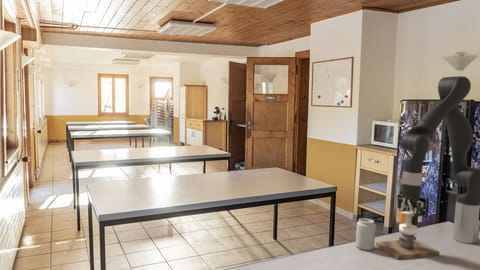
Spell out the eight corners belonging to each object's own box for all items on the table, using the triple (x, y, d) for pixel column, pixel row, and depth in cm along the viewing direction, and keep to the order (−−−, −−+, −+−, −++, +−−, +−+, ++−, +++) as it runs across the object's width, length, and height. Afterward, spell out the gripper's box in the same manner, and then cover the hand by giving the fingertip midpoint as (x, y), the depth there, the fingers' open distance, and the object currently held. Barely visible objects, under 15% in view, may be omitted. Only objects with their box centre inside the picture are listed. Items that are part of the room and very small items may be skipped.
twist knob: (412, 228, 162) (413, 209, 161) (424, 234, 155) (425, 214, 154) (392, 230, 159) (393, 210, 158) (403, 236, 152) (404, 215, 152)
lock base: (414, 242, 167) (416, 225, 166) (439, 255, 154) (440, 237, 153) (375, 245, 162) (376, 228, 161) (397, 259, 148) (398, 240, 148)
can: (370, 244, 163) (371, 217, 162) (376, 251, 156) (378, 223, 155) (352, 244, 163) (354, 217, 162) (358, 251, 156) (360, 222, 154)
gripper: (432, 186, 149) (429, 227, 151) (407, 178, 163) (404, 216, 165) (416, 187, 147) (413, 229, 149) (392, 179, 161) (389, 217, 163)
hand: (408, 222), depth 157 cm, fingers open, 5 cm apart
